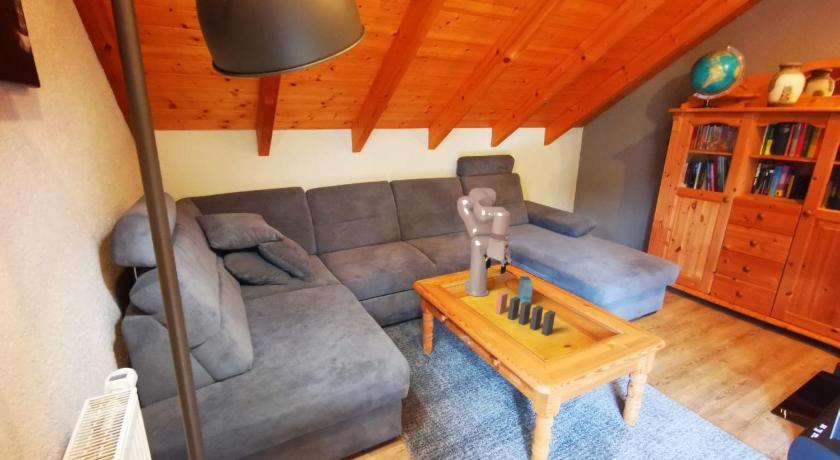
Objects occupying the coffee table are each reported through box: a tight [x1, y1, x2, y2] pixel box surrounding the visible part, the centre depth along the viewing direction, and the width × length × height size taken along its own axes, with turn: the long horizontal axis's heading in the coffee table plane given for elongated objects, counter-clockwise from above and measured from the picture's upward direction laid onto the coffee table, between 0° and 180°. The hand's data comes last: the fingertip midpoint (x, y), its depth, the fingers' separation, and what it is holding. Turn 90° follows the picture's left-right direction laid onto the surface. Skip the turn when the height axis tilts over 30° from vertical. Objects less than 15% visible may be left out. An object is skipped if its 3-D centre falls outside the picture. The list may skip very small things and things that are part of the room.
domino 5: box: [541, 309, 556, 337], centre depth 177 cm, size 2×5×10 cm, turn 133°
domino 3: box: [517, 301, 532, 326], centre depth 185 cm, size 2×5×10 cm, turn 133°
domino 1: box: [495, 291, 509, 316], centre depth 194 cm, size 2×5×10 cm, turn 134°
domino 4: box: [529, 305, 544, 331], centre depth 181 cm, size 2×5×10 cm, turn 133°
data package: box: [517, 275, 534, 304], centre depth 210 cm, size 12×4×12 cm, turn 177°
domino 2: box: [507, 296, 521, 321], centre depth 189 cm, size 2×5×10 cm, turn 133°
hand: (495, 270), depth 195 cm, fingers open, 8 cm apart
